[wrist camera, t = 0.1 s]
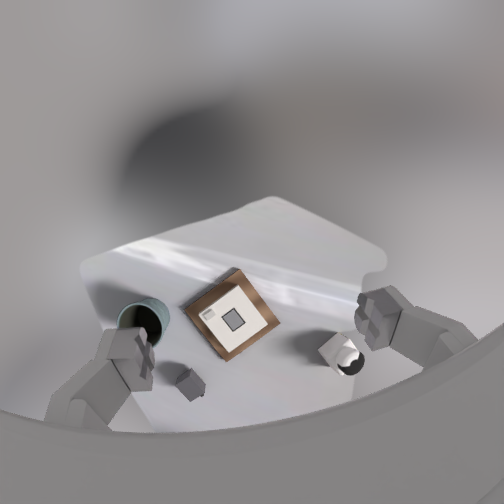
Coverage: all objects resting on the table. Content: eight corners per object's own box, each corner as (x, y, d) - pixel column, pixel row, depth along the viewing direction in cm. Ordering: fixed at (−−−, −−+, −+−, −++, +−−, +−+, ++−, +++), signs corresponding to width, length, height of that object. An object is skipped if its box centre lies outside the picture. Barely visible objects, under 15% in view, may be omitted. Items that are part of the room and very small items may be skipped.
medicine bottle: (350, 350, 66) (372, 363, 54) (330, 367, 65) (349, 384, 54) (337, 331, 66) (359, 343, 54) (316, 349, 65) (335, 364, 53)
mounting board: (279, 321, 64) (280, 323, 63) (226, 360, 62) (226, 362, 61) (239, 268, 64) (239, 269, 62) (185, 308, 62) (184, 309, 60)
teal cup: (171, 295, 62) (161, 302, 50) (174, 337, 61) (165, 352, 49) (132, 295, 61) (114, 302, 49) (135, 336, 60) (119, 350, 48)
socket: (265, 321, 62) (268, 324, 59) (228, 348, 61) (228, 353, 58) (237, 284, 62) (238, 285, 59) (199, 312, 61) (198, 315, 57)
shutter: (243, 321, 60) (244, 322, 59) (233, 329, 59) (233, 330, 59) (233, 308, 60) (233, 309, 59) (222, 316, 59) (222, 317, 58)
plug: (209, 386, 62) (209, 397, 55) (196, 394, 61) (194, 406, 55) (192, 365, 61) (189, 376, 55) (178, 374, 61) (175, 385, 54)
